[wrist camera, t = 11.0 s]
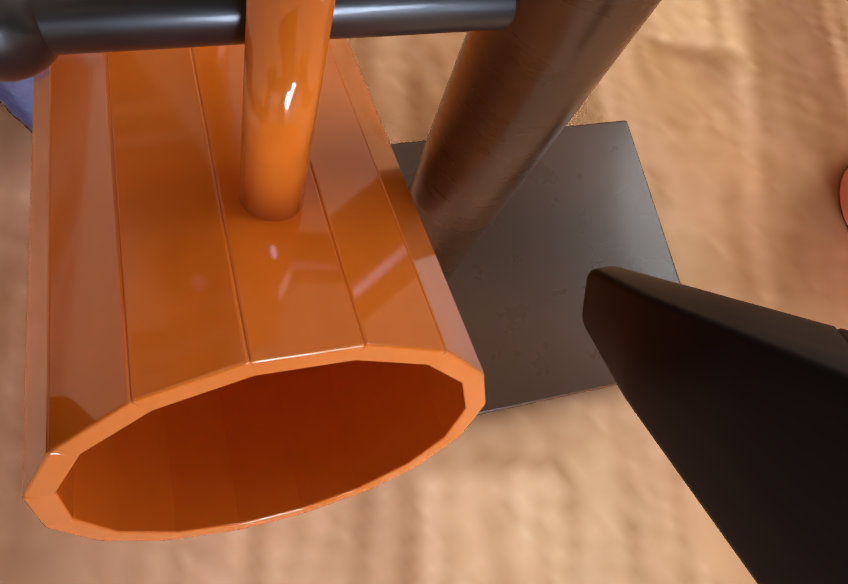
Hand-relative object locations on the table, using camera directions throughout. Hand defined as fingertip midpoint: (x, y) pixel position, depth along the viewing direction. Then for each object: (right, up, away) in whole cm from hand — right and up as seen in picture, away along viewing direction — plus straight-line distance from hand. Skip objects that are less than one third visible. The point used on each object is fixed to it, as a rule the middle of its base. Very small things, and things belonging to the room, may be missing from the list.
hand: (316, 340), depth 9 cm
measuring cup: (-4, +9, +6) cm, 12 cm away
